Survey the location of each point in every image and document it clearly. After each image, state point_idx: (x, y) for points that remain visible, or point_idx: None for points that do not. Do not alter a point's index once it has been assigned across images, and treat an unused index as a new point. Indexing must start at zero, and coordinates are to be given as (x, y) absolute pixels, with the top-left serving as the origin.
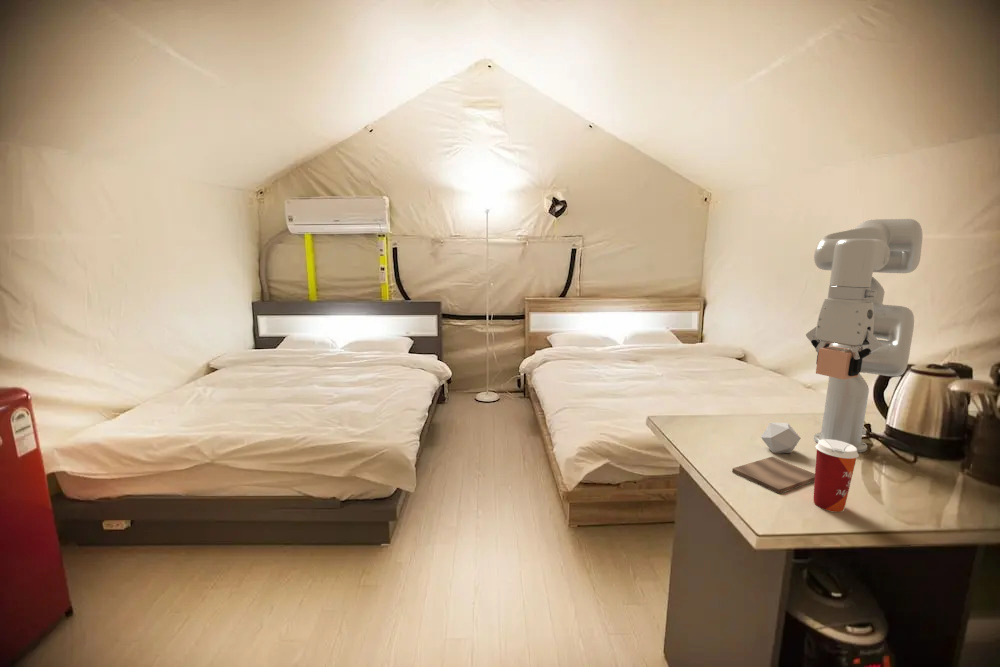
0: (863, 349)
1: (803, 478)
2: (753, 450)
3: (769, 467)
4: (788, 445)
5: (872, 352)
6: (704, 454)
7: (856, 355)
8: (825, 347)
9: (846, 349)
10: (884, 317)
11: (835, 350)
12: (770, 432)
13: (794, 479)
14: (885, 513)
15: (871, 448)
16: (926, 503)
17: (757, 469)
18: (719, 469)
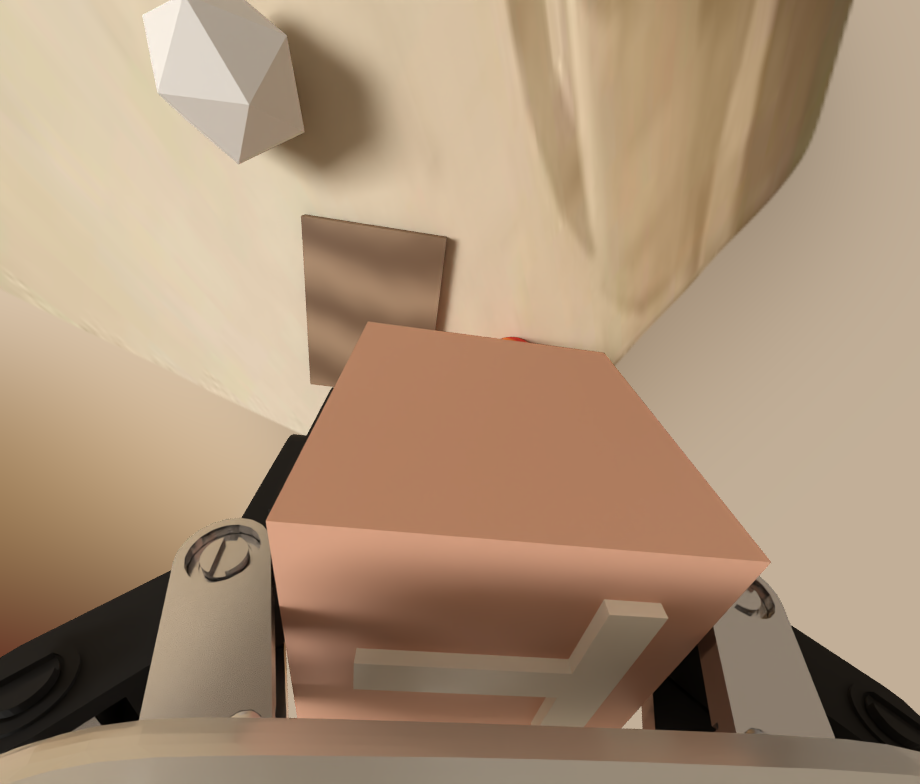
0: (808, 707)
1: (430, 297)
2: (224, 179)
3: (348, 304)
4: (295, 132)
5: (897, 700)
6: (204, 342)
7: (677, 684)
8: (293, 674)
9: (543, 606)
10: None
11: (467, 721)
12: (212, 141)
13: (420, 322)
14: (602, 299)
15: None
16: (685, 135)
17: (341, 342)
18: (290, 388)
